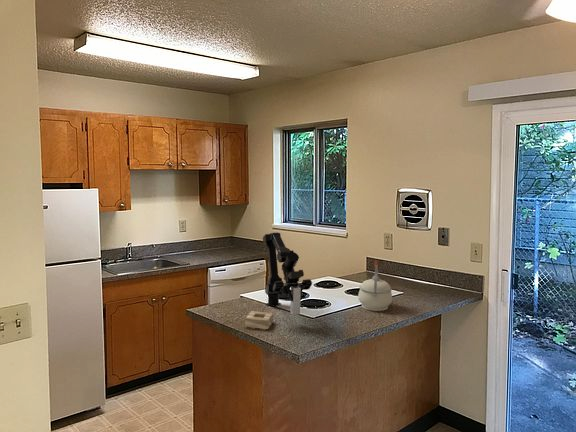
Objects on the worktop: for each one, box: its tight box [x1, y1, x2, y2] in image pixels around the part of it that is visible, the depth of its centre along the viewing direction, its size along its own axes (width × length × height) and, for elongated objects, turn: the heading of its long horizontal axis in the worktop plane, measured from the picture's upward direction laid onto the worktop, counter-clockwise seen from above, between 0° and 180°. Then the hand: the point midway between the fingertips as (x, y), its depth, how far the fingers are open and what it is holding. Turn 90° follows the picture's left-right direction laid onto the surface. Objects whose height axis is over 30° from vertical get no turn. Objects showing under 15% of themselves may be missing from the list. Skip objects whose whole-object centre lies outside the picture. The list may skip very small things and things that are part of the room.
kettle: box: [357, 259, 393, 312], centre depth 258 cm, size 25×18×25 cm
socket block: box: [244, 310, 274, 330], centre depth 224 cm, size 11×11×4 cm
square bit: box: [289, 286, 302, 316], centre depth 225 cm, size 4×4×13 cm
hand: (296, 300), depth 223 cm, fingers closed on square bit, 4 cm apart
